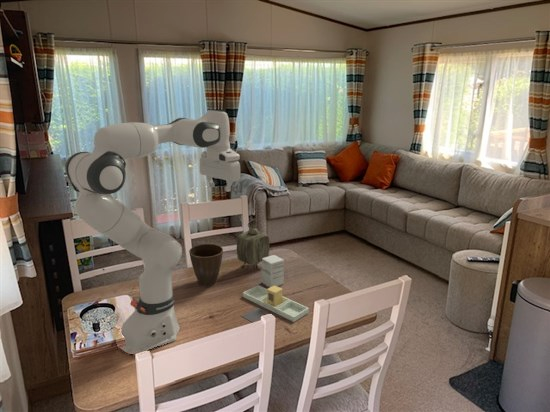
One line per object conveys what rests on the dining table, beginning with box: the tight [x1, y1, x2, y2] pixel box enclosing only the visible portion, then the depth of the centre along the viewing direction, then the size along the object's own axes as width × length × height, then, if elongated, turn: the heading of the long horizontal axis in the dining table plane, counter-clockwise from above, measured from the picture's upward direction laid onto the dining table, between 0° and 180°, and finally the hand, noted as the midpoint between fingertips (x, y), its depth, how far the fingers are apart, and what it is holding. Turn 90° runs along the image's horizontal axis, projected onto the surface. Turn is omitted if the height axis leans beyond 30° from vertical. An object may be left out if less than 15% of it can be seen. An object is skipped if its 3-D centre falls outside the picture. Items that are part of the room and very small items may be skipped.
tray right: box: [275, 299, 310, 323], centre depth 160 cm, size 9×9×2 cm
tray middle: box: [258, 296, 291, 314], centre depth 166 cm, size 9×9×2 cm
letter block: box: [266, 285, 283, 307], centre depth 165 cm, size 5×4×7 cm
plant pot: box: [189, 243, 224, 287], centre depth 183 cm, size 15×15×16 cm
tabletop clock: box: [236, 218, 270, 270], centre depth 198 cm, size 14×9×25 cm, turn 136°
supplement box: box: [261, 254, 285, 288], centre depth 182 cm, size 7×7×13 cm
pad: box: [241, 307, 271, 323], centre depth 158 cm, size 9×9×1 cm
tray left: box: [242, 284, 268, 305], centre depth 172 cm, size 9×9×2 cm
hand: (219, 189), depth 157 cm, fingers open, 8 cm apart
